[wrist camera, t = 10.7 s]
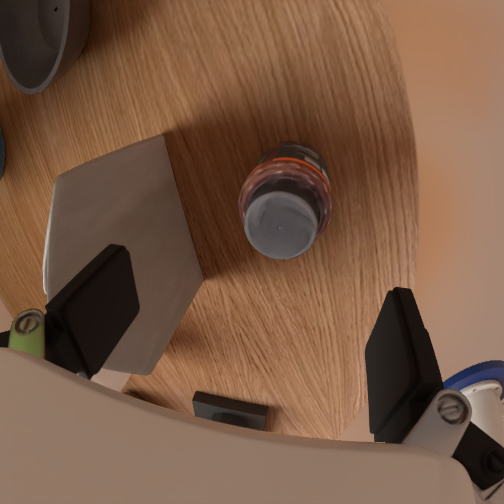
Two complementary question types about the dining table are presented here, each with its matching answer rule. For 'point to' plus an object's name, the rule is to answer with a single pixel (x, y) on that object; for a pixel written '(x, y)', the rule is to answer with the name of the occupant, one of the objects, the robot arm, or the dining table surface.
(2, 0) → the bowl
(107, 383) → the can
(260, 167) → the supplement bottle
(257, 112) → the dining table surface
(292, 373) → the dining table surface
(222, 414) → the button base
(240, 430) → the robot arm
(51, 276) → the planter
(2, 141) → the lantern
